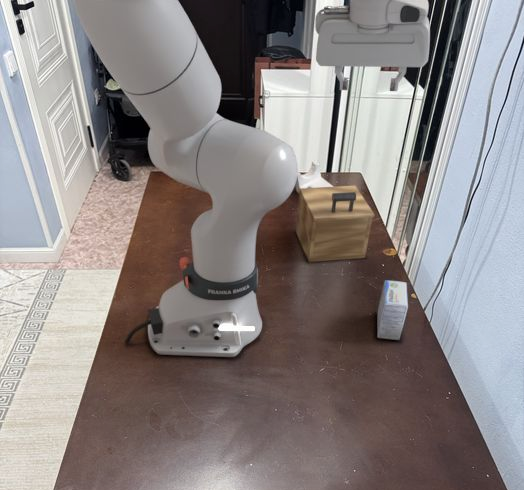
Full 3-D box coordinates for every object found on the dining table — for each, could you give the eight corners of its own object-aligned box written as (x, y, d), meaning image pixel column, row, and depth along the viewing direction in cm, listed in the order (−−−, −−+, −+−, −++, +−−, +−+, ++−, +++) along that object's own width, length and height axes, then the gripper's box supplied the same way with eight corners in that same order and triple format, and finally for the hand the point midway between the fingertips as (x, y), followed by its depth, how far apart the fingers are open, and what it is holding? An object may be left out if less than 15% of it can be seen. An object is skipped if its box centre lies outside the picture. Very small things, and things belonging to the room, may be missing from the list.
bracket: (297, 194, 143) (292, 170, 138) (318, 184, 144) (314, 160, 139) (319, 214, 135) (316, 190, 129) (341, 203, 136) (339, 178, 130)
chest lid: (374, 217, 110) (378, 196, 106) (313, 221, 108) (316, 199, 104) (354, 188, 120) (357, 168, 117) (299, 191, 118) (301, 170, 115)
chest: (364, 257, 118) (372, 216, 110) (308, 262, 116) (312, 219, 108) (348, 228, 128) (354, 188, 120) (296, 232, 126) (299, 191, 118)
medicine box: (399, 341, 96) (409, 306, 90) (376, 338, 97) (384, 303, 91) (398, 316, 102) (407, 281, 96) (376, 313, 102) (384, 279, 96)
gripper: (312, 12, 85) (312, 95, 95) (436, 10, 80) (422, 98, 91) (318, 0, 88) (317, 81, 99) (437, -2, 84) (423, 83, 95)
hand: (368, 89), depth 95 cm, fingers open, 8 cm apart
